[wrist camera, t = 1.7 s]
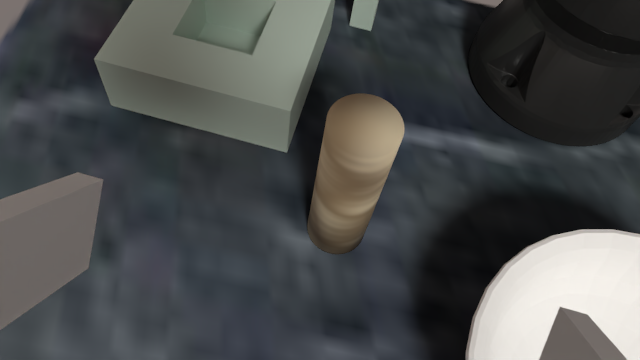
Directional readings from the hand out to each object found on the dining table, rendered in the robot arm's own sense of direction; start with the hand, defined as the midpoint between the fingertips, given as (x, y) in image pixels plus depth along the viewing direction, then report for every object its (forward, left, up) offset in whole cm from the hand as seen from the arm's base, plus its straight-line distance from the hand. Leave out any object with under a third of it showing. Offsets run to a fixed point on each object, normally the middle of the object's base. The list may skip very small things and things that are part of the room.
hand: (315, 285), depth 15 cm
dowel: (0, -12, -19) cm, 22 cm away
